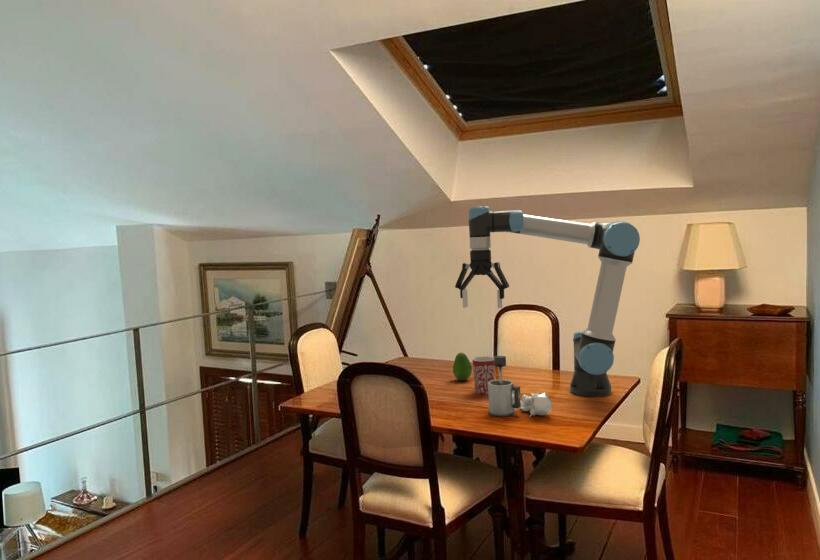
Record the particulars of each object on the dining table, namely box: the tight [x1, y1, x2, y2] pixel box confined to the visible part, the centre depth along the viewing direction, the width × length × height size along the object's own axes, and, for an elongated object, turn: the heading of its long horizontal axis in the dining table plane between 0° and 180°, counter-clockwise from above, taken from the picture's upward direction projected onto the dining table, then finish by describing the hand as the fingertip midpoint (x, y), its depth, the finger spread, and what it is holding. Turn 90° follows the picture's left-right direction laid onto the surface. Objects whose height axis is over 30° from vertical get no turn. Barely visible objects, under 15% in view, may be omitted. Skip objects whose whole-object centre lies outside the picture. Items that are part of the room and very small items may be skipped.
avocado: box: [452, 352, 473, 381], centre depth 260 cm, size 8×8×12 cm
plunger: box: [493, 355, 507, 385], centre depth 210 cm, size 6×6×17 cm
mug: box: [471, 355, 496, 396], centre depth 240 cm, size 13×9×14 cm
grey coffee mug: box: [487, 379, 521, 418], centre depth 210 cm, size 11×9×10 cm
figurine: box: [519, 391, 553, 418], centre depth 209 cm, size 11×7×15 cm
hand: (482, 307), depth 224 cm, fingers open, 13 cm apart
